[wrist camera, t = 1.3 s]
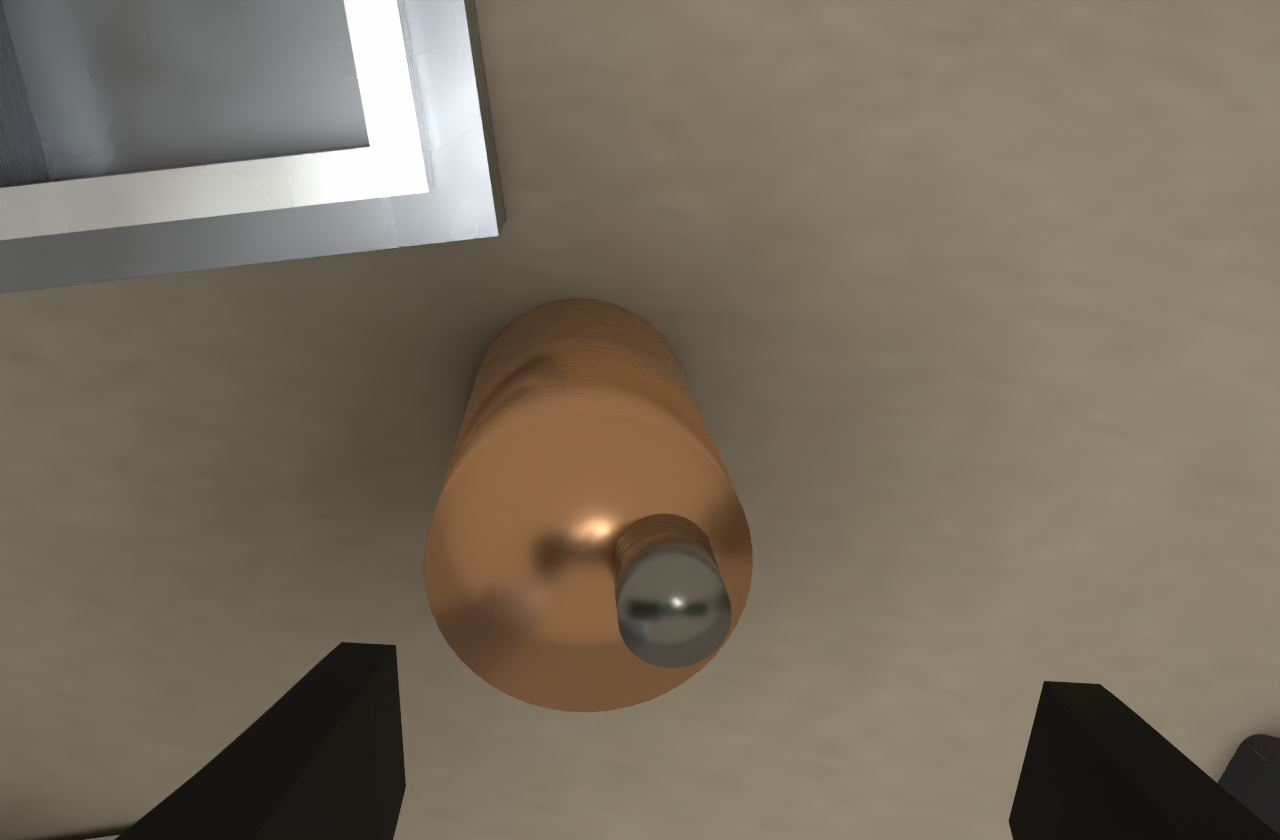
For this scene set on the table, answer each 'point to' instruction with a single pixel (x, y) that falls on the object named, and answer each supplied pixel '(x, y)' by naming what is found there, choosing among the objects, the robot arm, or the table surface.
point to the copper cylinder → (585, 518)
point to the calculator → (1256, 778)
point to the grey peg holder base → (236, 134)
